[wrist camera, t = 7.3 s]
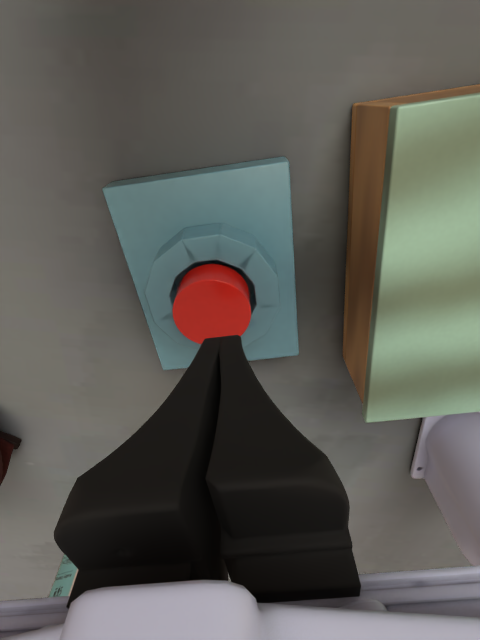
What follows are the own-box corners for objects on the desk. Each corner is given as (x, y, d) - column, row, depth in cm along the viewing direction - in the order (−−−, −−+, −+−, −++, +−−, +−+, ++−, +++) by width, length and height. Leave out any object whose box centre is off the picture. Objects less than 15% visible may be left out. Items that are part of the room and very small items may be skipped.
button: (253, 322, 18) (255, 342, 17) (186, 329, 18) (182, 350, 17) (245, 258, 16) (246, 274, 15) (169, 268, 16) (163, 285, 15)
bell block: (295, 341, 22) (303, 374, 20) (166, 355, 23) (157, 390, 20) (285, 155, 16) (295, 167, 14) (111, 181, 17) (87, 197, 14)
